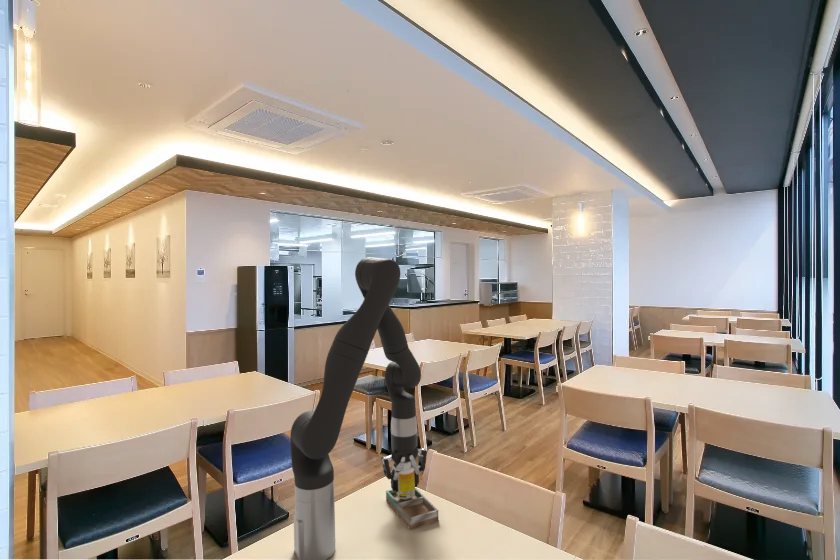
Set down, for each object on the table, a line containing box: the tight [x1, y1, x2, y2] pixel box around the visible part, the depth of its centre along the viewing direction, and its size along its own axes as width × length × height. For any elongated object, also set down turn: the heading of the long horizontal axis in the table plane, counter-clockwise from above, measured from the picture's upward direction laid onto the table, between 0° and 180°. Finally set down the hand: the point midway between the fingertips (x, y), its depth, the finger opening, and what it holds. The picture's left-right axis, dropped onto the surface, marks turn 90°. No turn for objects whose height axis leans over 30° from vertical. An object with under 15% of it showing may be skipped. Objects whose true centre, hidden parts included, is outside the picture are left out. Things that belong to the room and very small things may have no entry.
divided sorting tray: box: [385, 487, 440, 531], centre depth 119 cm, size 8×16×3 cm, turn 27°
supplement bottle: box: [396, 461, 415, 499], centre depth 122 cm, size 6×6×10 cm
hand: (405, 488), depth 122 cm, fingers closed on supplement bottle, 5 cm apart
